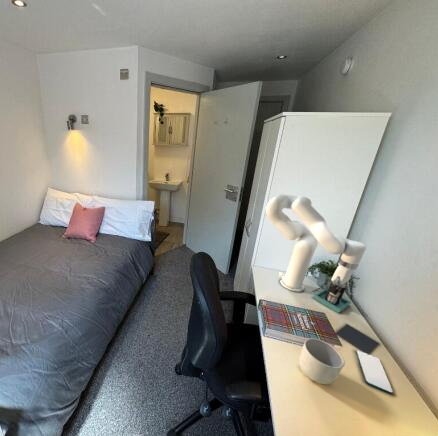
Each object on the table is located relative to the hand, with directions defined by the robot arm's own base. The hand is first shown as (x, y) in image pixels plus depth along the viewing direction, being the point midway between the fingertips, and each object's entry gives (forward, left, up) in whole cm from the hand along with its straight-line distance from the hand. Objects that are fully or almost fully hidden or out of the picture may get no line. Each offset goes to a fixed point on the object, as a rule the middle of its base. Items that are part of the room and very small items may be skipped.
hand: (335, 291), depth 126 cm
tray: (0, 0, -7) cm, 7 cm away
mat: (+18, -18, -7) cm, 27 cm away
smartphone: (+28, -32, -8) cm, 43 cm away
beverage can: (0, 0, -7) cm, 7 cm away
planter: (+17, -54, -8) cm, 57 cm away
